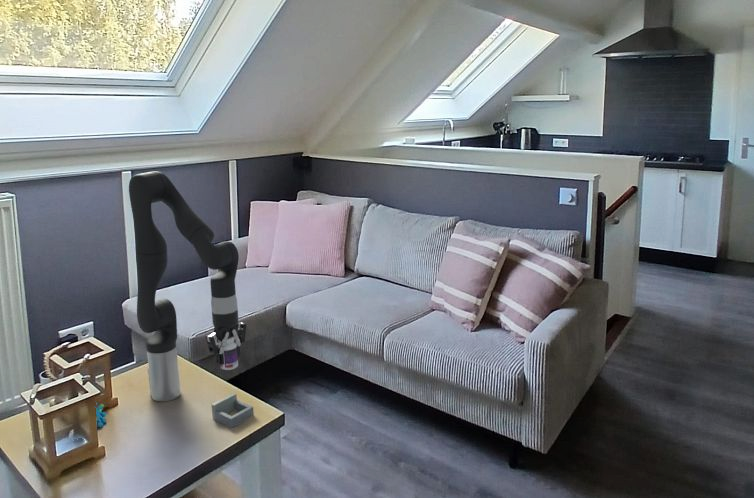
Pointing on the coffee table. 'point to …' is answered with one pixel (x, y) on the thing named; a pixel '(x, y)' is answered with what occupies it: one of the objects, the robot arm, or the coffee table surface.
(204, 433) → the coffee table surface
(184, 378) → the coffee table surface
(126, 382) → the coffee table surface
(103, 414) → the blue lumpy piece
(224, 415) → the dock
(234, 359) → the pill bottle
